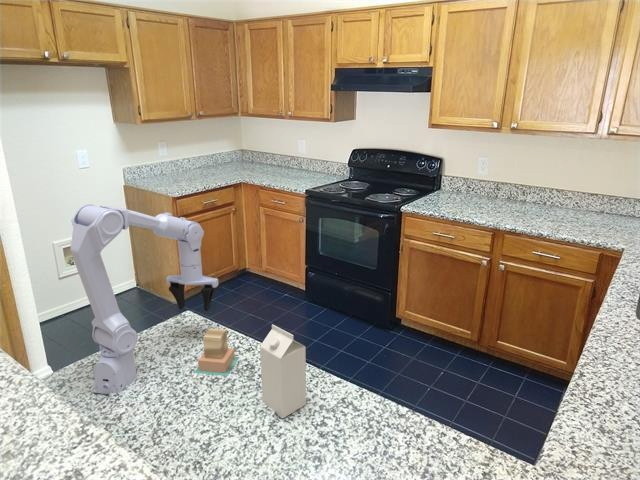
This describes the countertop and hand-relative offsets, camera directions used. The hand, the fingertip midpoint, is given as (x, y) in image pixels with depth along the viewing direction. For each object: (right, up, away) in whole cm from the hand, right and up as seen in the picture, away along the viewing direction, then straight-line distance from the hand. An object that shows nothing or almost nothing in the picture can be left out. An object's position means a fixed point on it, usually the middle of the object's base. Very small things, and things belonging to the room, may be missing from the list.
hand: (194, 308), depth 128 cm
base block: (+9, -13, -10) cm, 19 cm away
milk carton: (+27, -18, -25) cm, 41 cm away
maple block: (+9, -10, -11) cm, 17 cm away
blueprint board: (+9, -14, -10) cm, 19 cm away
